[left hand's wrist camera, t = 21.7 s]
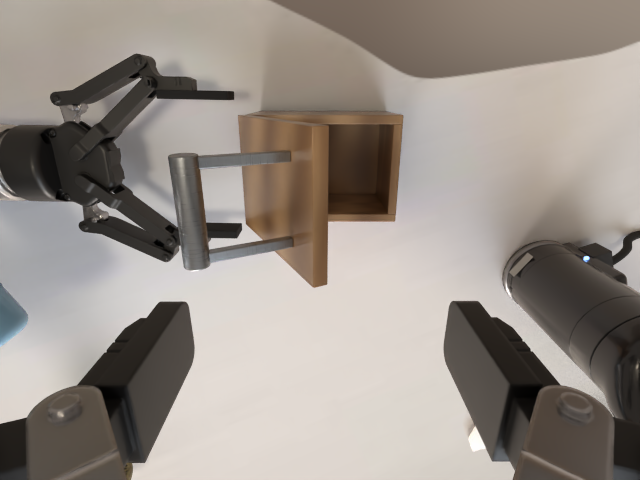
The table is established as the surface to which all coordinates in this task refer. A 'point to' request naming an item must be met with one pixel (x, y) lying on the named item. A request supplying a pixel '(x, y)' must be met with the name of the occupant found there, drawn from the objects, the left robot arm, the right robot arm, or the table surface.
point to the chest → (358, 161)
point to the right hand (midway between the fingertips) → (235, 167)
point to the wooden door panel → (264, 196)
